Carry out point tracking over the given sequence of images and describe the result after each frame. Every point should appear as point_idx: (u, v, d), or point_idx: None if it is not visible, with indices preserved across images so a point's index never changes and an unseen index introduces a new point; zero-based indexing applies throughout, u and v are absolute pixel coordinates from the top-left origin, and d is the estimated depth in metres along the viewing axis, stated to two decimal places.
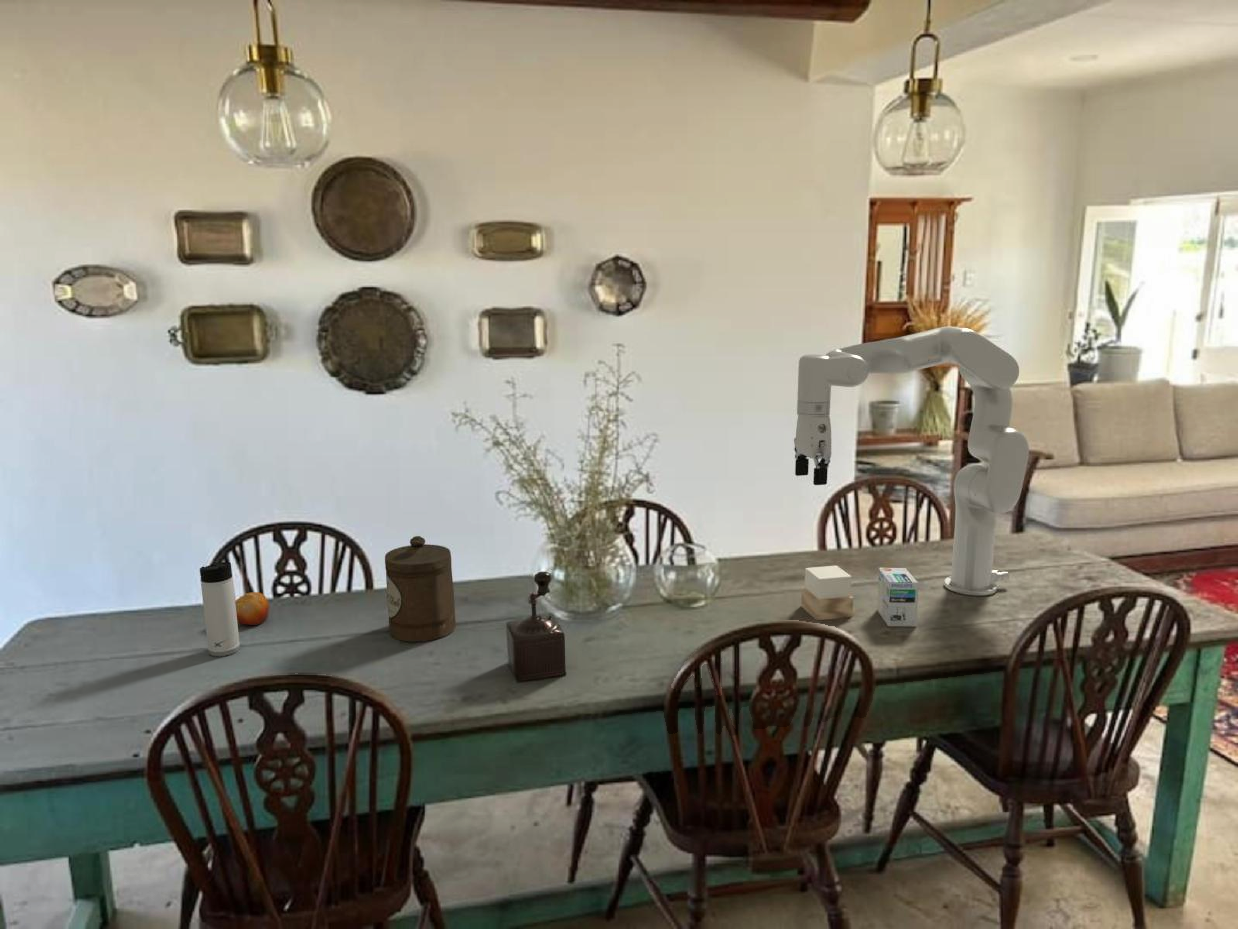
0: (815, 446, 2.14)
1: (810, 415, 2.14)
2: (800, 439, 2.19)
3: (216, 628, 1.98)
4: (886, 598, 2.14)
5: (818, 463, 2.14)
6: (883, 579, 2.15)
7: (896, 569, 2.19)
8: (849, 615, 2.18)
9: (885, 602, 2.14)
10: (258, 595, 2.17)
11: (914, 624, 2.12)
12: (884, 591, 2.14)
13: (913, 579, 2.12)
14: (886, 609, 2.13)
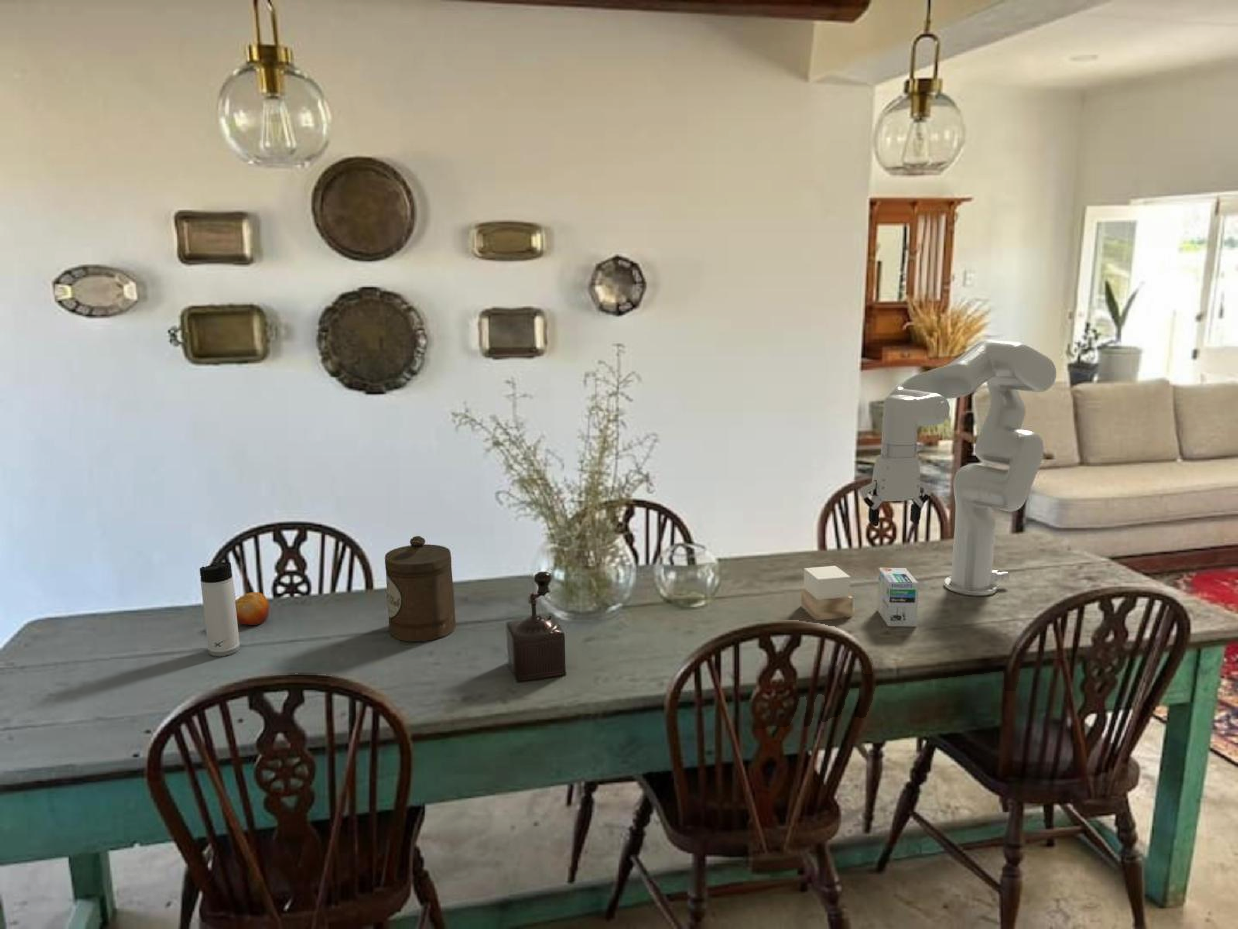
0: (920, 485, 2.10)
1: (915, 456, 2.08)
2: (895, 485, 2.09)
3: (216, 628, 1.98)
4: (886, 598, 2.14)
5: (921, 501, 2.12)
6: (883, 579, 2.15)
7: (896, 569, 2.19)
8: (849, 615, 2.18)
9: (885, 602, 2.14)
10: (258, 595, 2.17)
11: (914, 624, 2.12)
12: (884, 591, 2.14)
13: (913, 579, 2.12)
14: (886, 609, 2.13)
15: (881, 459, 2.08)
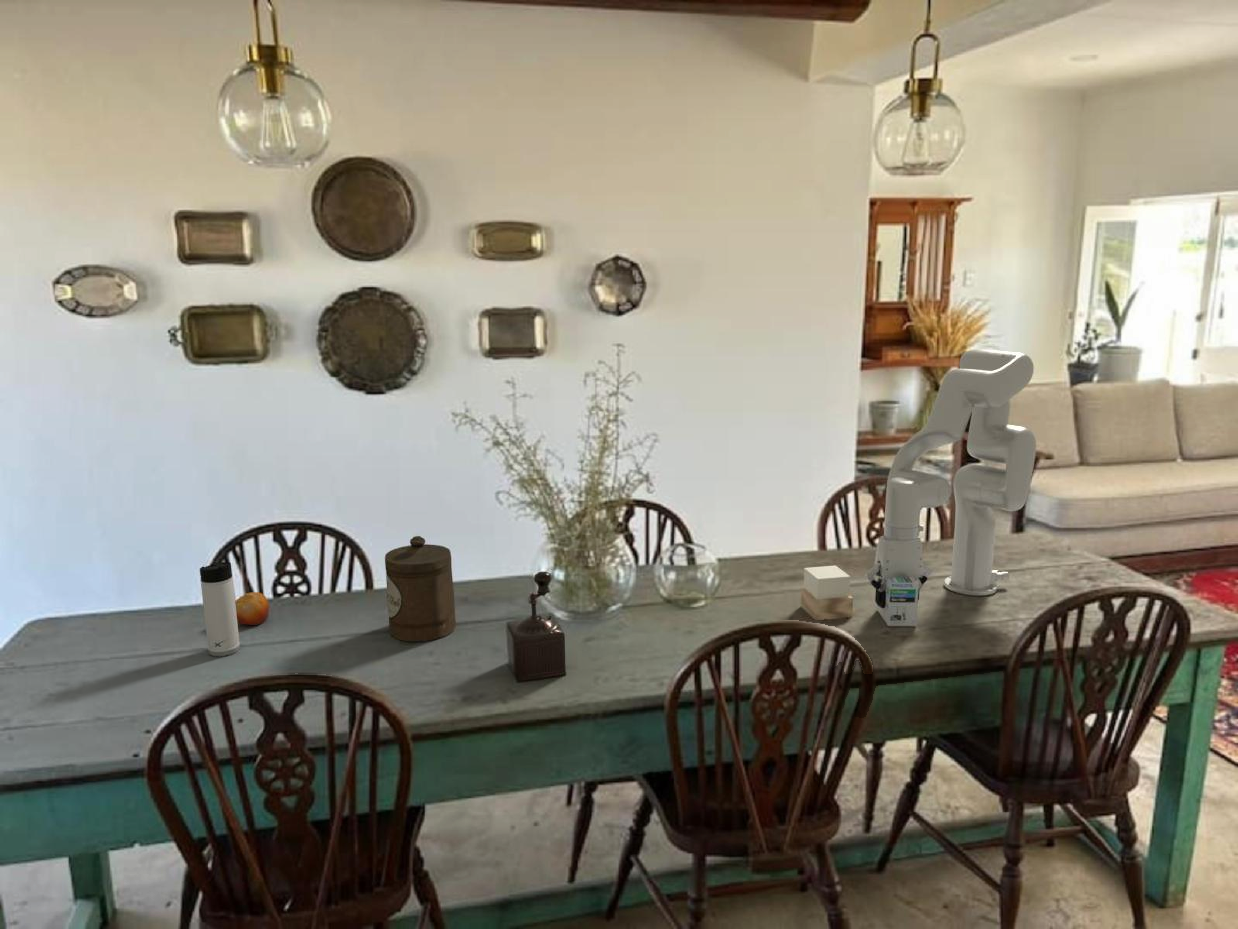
0: None
1: (917, 538, 2.11)
2: (899, 566, 2.12)
3: (216, 628, 1.98)
4: (886, 598, 2.14)
5: None
6: None
7: None
8: (849, 615, 2.18)
9: (885, 602, 2.14)
10: (258, 595, 2.17)
11: (914, 624, 2.12)
12: (884, 590, 2.14)
13: (913, 579, 2.12)
14: (886, 609, 2.13)
15: (885, 541, 2.11)
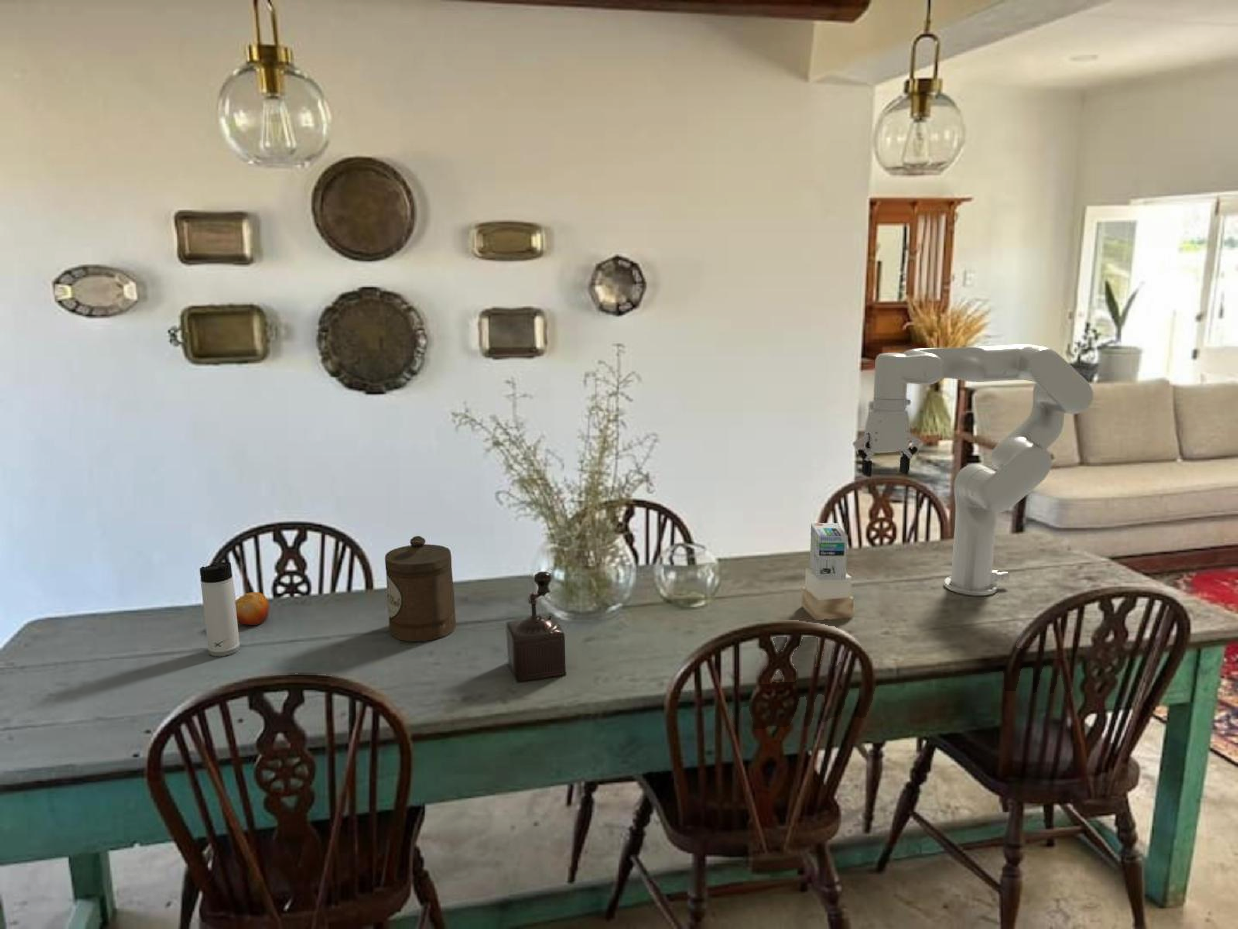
0: None
1: (905, 410, 2.22)
2: (887, 438, 2.23)
3: (216, 628, 1.98)
4: (816, 552, 2.16)
5: None
6: (814, 533, 2.18)
7: (827, 524, 2.21)
8: (849, 616, 2.18)
9: (815, 556, 2.16)
10: (258, 595, 2.17)
11: (844, 577, 2.14)
12: (815, 545, 2.17)
13: (842, 533, 2.14)
14: (816, 563, 2.16)
15: (874, 413, 2.22)
